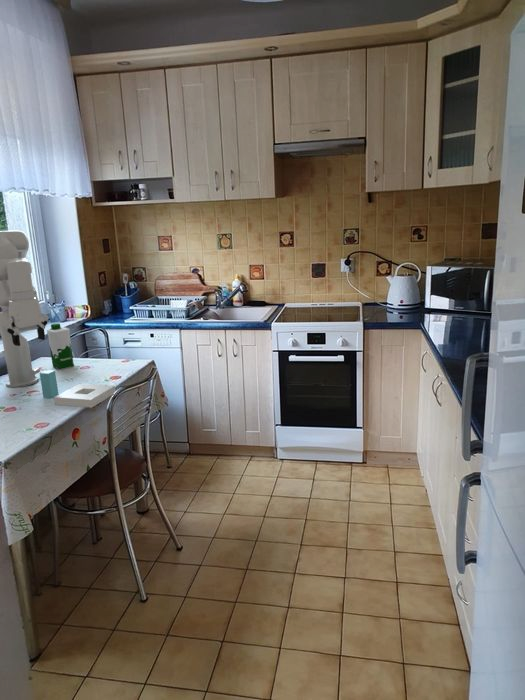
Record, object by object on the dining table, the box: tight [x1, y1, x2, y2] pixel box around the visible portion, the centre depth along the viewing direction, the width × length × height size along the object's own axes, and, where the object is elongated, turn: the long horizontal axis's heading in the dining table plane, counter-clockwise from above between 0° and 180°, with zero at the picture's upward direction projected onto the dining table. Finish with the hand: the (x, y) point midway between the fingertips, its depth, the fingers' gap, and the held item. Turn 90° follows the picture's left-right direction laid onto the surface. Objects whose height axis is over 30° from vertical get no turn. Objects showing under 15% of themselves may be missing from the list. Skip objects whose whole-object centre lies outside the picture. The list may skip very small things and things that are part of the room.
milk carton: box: [46, 322, 75, 370], centre depth 245 cm, size 9×9×20 cm
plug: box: [39, 369, 60, 399], centre depth 206 cm, size 4×4×10 cm
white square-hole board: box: [53, 383, 116, 408], centre depth 205 cm, size 22×16×3 cm
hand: (29, 342), depth 192 cm, fingers open, 9 cm apart
